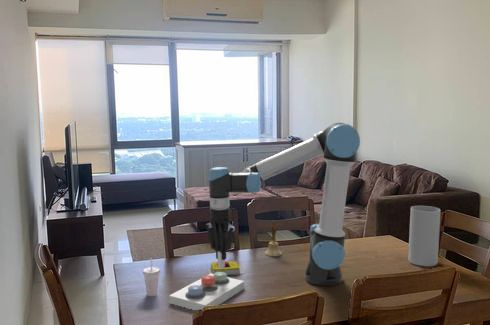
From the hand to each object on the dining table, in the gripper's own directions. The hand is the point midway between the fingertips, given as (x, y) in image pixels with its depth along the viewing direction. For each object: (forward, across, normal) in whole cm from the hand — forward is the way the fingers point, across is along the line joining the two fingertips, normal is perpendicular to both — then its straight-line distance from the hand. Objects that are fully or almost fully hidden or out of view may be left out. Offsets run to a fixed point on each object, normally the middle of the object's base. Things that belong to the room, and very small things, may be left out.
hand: (221, 267), depth 184 cm
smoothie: (+8, -20, -18) cm, 28 cm away
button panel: (+9, -1, -8) cm, 12 cm away
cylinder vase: (+11, +61, +73) cm, 96 cm away
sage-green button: (+5, -1, 0) cm, 5 cm away
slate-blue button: (+5, -1, -16) cm, 17 cm away
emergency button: (+9, -9, +17) cm, 22 cm away
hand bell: (+9, -3, +49) cm, 50 cm away
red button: (+4, -1, -8) cm, 9 cm away
